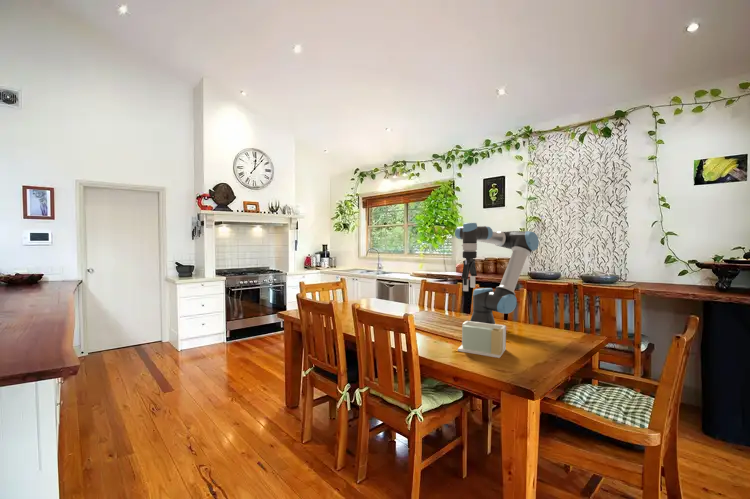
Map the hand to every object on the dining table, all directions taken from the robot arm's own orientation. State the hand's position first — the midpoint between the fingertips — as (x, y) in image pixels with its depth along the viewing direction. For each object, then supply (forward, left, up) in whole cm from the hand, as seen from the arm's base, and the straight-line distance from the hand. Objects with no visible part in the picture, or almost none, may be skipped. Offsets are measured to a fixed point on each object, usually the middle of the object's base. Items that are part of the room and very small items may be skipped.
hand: (469, 289), depth 203 cm
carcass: (+19, +12, -27) cm, 35 cm away
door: (+23, +13, -25) cm, 37 cm away
